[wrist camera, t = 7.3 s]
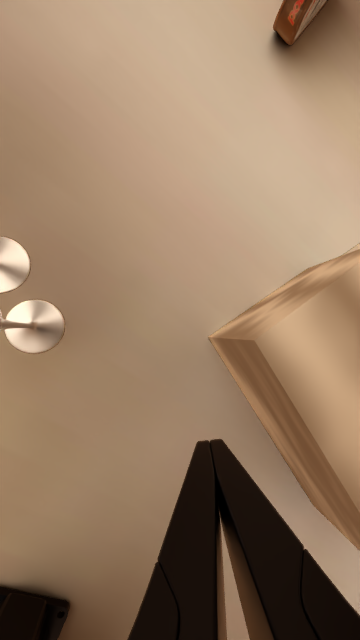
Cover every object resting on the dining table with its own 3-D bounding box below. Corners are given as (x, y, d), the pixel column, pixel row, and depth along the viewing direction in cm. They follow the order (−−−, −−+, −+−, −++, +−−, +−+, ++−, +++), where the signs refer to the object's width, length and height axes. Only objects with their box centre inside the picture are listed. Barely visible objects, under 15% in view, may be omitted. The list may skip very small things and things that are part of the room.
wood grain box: (312, 504, 21) (416, 606, 13) (208, 337, 20) (254, 340, 12) (395, 420, 24) (522, 463, 16) (307, 268, 23) (397, 234, 15)
